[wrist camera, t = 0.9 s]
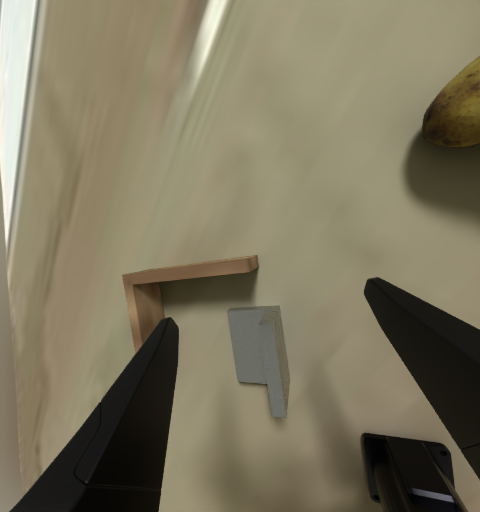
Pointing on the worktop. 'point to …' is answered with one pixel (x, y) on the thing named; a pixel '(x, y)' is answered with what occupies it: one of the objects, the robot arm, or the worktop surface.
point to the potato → (456, 111)
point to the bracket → (261, 352)
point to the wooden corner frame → (149, 297)
